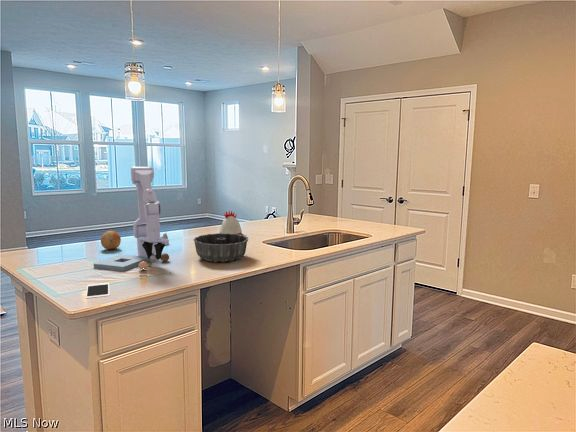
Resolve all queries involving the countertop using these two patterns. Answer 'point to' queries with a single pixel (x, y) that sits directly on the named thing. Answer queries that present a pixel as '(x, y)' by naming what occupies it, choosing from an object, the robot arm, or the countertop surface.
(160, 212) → the robot arm
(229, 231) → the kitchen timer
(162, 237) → the caliper
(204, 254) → the bundt pan
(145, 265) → the terracotta ball
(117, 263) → the hole plate
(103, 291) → the cell phone
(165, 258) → the walnut ball
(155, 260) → the steel ball
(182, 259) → the countertop surface
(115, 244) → the onion
